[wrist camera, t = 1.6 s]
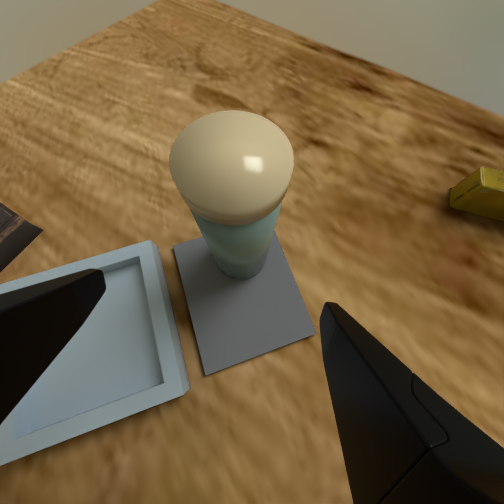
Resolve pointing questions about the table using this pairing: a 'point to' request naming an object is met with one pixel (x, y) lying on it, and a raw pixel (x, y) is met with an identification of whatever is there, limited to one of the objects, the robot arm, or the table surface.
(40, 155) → the table surface
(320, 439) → the table surface
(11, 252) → the hardcover book
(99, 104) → the table surface
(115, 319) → the dish
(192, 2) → the table surface
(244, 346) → the mat
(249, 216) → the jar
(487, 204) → the medication box
